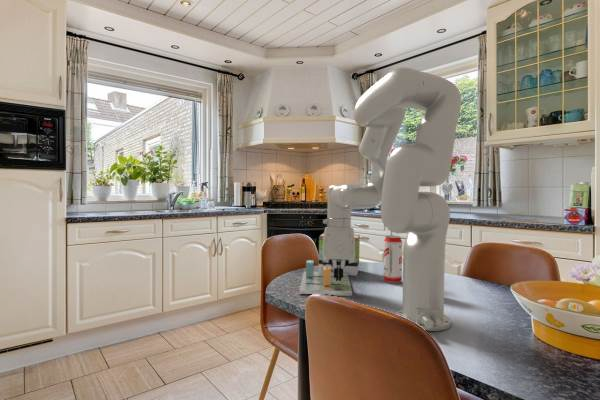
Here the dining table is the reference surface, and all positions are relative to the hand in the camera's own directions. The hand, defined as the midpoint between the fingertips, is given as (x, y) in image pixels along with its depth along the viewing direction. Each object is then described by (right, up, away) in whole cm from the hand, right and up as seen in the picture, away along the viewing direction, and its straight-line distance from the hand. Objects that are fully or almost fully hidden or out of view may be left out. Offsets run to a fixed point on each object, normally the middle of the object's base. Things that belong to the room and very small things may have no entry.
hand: (338, 279), depth 112 cm
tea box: (+3, -3, +24) cm, 24 cm away
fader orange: (-4, -1, 0) cm, 4 cm away
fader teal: (-9, -1, +11) cm, 14 cm away
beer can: (+20, -3, +10) cm, 22 cm away
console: (-4, -3, +5) cm, 7 cm away
